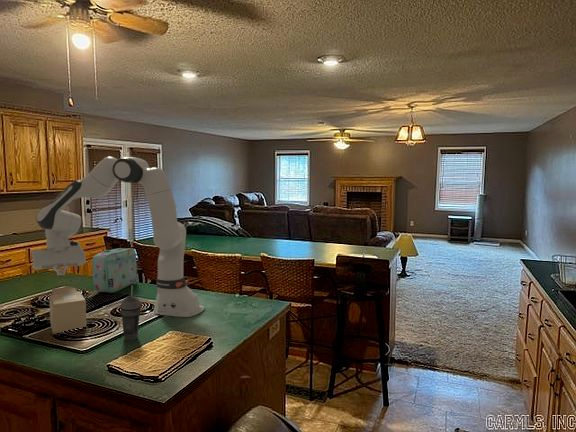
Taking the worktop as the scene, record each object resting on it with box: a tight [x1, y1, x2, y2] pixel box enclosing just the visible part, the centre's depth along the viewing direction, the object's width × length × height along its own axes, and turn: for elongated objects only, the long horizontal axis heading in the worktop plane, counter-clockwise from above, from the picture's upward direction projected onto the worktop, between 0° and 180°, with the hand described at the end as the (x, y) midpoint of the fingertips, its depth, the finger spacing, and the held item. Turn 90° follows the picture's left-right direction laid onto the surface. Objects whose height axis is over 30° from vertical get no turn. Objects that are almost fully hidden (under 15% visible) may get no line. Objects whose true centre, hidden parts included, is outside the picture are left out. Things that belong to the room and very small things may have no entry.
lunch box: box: [91, 247, 138, 294], centre depth 208 cm, size 27×10×21 cm, turn 168°
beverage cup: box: [119, 284, 142, 341], centre depth 146 cm, size 7×7×20 cm
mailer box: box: [49, 297, 87, 336], centre depth 155 cm, size 12×11×11 cm
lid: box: [49, 286, 86, 306], centre depth 158 cm, size 22×10×1 cm, turn 35°
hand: (61, 274), depth 171 cm, fingers closed
